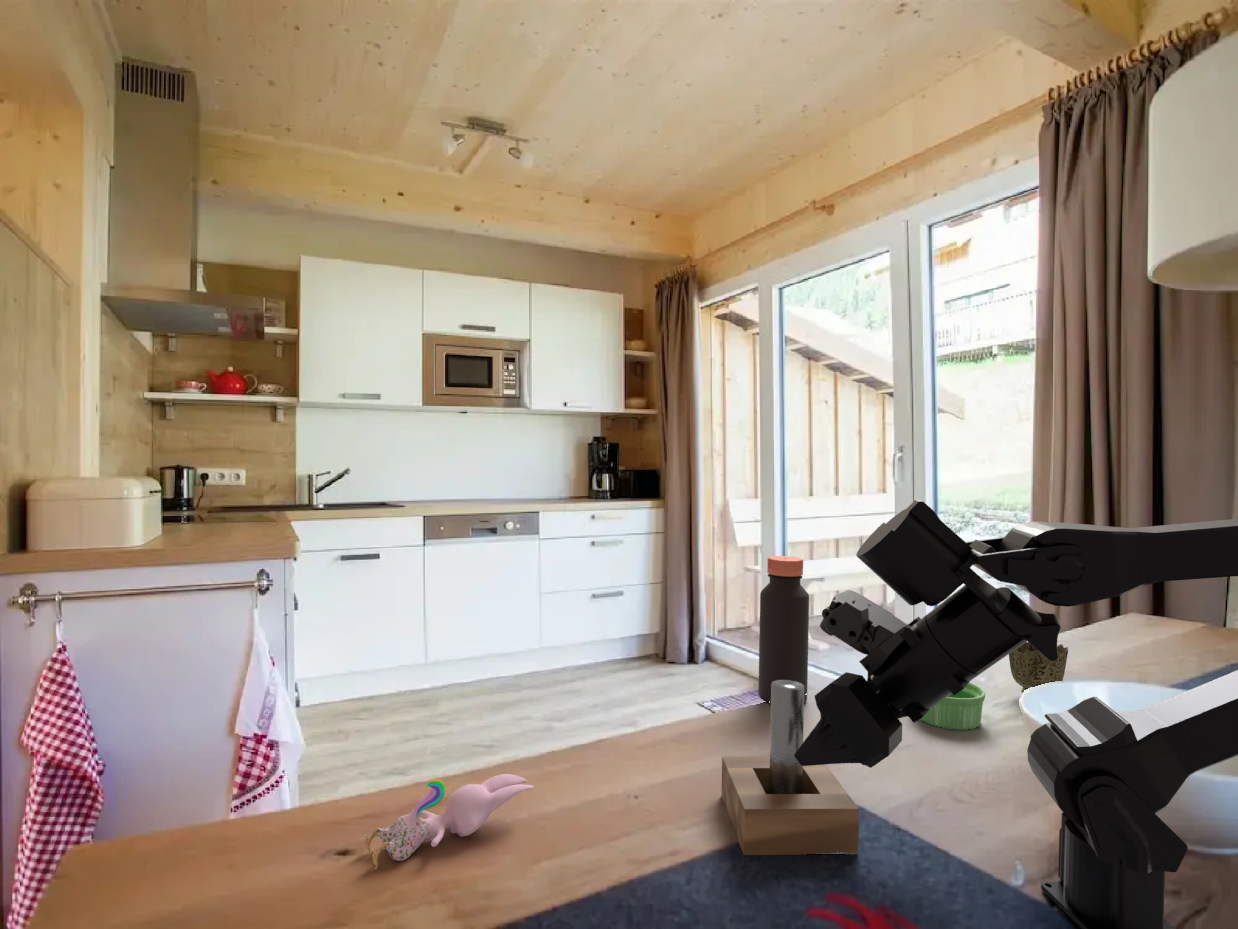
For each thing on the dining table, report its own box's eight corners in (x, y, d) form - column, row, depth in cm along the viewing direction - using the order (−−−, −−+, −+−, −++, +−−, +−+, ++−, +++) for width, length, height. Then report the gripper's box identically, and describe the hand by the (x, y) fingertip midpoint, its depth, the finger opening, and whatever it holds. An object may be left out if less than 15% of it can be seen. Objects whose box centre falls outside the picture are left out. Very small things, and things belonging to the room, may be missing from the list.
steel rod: (805, 832, 61) (808, 691, 61) (773, 832, 61) (776, 691, 61) (795, 814, 64) (798, 679, 64) (764, 814, 64) (767, 679, 64)
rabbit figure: (382, 898, 53) (547, 814, 62) (370, 829, 53) (539, 753, 61) (363, 858, 58) (518, 786, 67) (352, 795, 58) (510, 729, 66)
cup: (994, 693, 99) (995, 639, 98) (1030, 687, 101) (1031, 635, 101) (1042, 711, 92) (1043, 653, 91) (1079, 705, 94) (1080, 649, 94)
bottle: (817, 702, 94) (820, 560, 93) (780, 710, 90) (783, 563, 90) (784, 687, 100) (787, 553, 99) (748, 694, 96) (751, 556, 96)
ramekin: (895, 709, 92) (895, 677, 92) (949, 704, 94) (950, 673, 94) (942, 736, 83) (943, 701, 83) (1001, 729, 86) (1002, 695, 86)
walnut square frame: (858, 854, 58) (859, 808, 58) (743, 855, 57) (744, 809, 57) (819, 795, 68) (819, 756, 68) (721, 795, 67) (722, 756, 67)
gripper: (911, 553, 65) (801, 646, 72) (842, 580, 50) (712, 694, 57) (1002, 649, 60) (875, 739, 67) (956, 710, 45) (799, 817, 52)
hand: (818, 742), depth 61 cm, fingers open, 9 cm apart
